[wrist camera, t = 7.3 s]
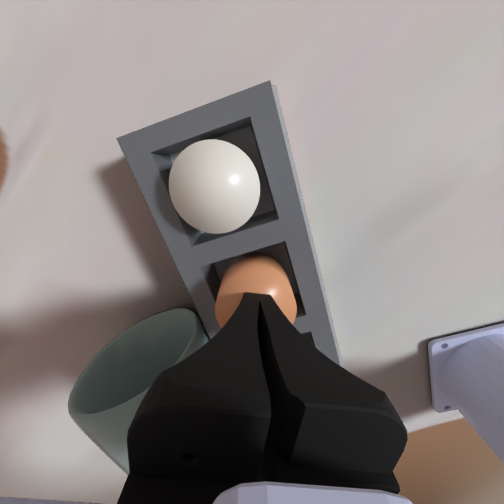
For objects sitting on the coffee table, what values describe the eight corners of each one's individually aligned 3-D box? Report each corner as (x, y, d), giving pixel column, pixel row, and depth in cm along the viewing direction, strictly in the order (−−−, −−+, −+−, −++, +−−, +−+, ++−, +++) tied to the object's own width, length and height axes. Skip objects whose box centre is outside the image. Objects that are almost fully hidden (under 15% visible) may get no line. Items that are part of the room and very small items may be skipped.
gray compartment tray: (274, 89, 13) (281, 63, 10) (339, 357, 19) (356, 395, 16) (135, 140, 14) (99, 133, 11) (242, 380, 20) (240, 421, 17)
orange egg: (277, 243, 13) (284, 264, 11) (295, 301, 15) (305, 333, 12) (212, 263, 14) (202, 287, 11) (234, 317, 15) (230, 352, 12)
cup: (143, 543, 14) (28, 445, 11) (172, 414, 21) (109, 331, 18) (265, 498, 14) (188, 383, 10) (252, 384, 21) (204, 294, 18)
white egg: (245, 134, 12) (243, 125, 9) (267, 207, 14) (271, 218, 11) (175, 159, 13) (152, 157, 10) (202, 228, 14) (190, 244, 11)
